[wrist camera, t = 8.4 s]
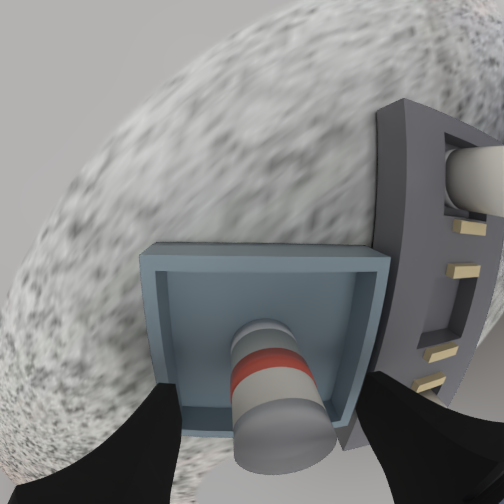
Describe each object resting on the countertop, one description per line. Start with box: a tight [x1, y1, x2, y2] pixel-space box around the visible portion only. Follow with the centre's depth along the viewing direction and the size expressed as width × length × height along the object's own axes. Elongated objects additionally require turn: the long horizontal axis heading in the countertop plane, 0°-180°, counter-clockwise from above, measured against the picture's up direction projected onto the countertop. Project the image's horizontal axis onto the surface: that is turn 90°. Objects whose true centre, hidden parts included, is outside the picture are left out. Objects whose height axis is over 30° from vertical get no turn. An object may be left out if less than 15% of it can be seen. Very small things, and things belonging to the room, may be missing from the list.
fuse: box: [444, 146, 504, 217], centre depth 8 cm, size 3×3×6 cm
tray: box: [139, 242, 391, 438], centre depth 12 cm, size 10×10×2 cm
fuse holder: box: [334, 98, 504, 451], centre depth 12 cm, size 9×20×3 cm, turn 178°
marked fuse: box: [230, 318, 337, 475], centre depth 10 cm, size 3×3×6 cm
